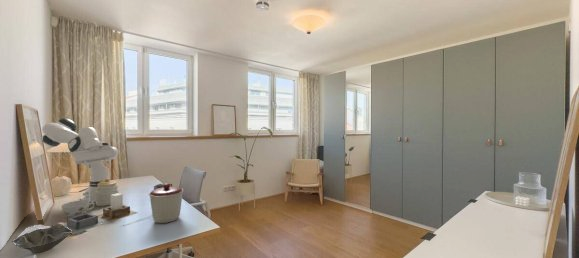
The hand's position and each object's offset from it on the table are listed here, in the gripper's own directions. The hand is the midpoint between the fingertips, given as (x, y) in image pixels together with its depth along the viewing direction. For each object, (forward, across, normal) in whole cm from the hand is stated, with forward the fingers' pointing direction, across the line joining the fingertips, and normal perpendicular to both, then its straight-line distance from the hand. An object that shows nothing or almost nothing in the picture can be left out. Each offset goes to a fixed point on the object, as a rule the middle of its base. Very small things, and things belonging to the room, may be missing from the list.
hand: (99, 165), depth 147 cm
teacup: (+18, -12, +24) cm, 32 cm away
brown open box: (+31, +3, +11) cm, 33 cm away
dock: (+32, -14, +6) cm, 35 cm away
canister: (+52, +19, -11) cm, 56 cm away
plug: (+30, +3, +10) cm, 32 cm away
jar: (+10, +6, +37) cm, 39 cm away
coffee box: (+39, +26, +5) cm, 47 cm away
